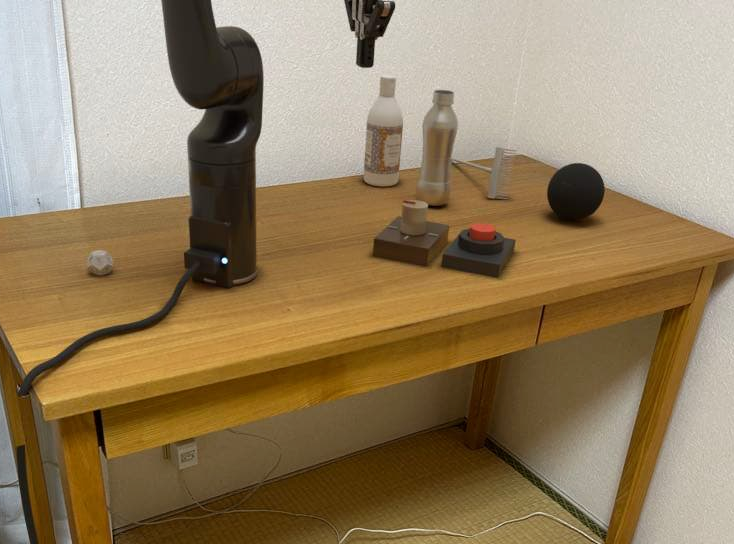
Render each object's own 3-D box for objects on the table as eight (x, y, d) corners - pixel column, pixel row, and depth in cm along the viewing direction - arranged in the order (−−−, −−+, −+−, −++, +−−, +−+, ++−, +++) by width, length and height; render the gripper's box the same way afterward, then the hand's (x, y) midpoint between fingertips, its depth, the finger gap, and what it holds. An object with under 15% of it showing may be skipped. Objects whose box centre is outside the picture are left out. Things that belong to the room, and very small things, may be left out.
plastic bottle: (455, 203, 155) (469, 92, 144) (439, 212, 150) (452, 97, 139) (425, 196, 157) (436, 86, 147) (408, 204, 152) (418, 91, 142)
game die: (117, 274, 119) (115, 255, 117) (92, 279, 117) (89, 259, 115) (109, 266, 121) (107, 246, 120) (84, 270, 119) (82, 250, 118)
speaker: (593, 212, 154) (605, 158, 149) (602, 230, 146) (614, 174, 141) (540, 207, 155) (549, 154, 150) (545, 225, 146) (556, 169, 141)
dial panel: (427, 267, 127) (429, 247, 126) (372, 256, 130) (373, 237, 128) (447, 242, 137) (449, 224, 135) (396, 233, 139) (398, 215, 138)
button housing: (498, 278, 125) (501, 253, 123) (441, 267, 127) (444, 242, 125) (513, 252, 134) (517, 228, 132) (460, 242, 137) (463, 219, 135)
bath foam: (376, 189, 159) (384, 80, 149) (356, 179, 164) (362, 73, 154) (404, 184, 163) (414, 78, 152) (384, 175, 168) (392, 71, 157)
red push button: (491, 244, 127) (492, 233, 126) (466, 239, 128) (467, 228, 127) (496, 236, 130) (498, 225, 129) (472, 231, 131) (473, 221, 130)
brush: (459, 181, 183) (466, 137, 180) (507, 200, 158) (517, 149, 155) (443, 180, 182) (450, 135, 179) (489, 198, 157) (498, 147, 154)
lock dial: (427, 229, 133) (431, 200, 130) (421, 237, 130) (424, 207, 127) (404, 225, 134) (406, 196, 131) (397, 233, 131) (400, 203, 128)
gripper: (419, -65, 108) (407, 75, 117) (376, -71, 118) (368, 58, 127) (368, -67, 105) (359, 76, 114) (328, -73, 115) (324, 59, 125)
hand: (364, 66), depth 121 cm, fingers closed
